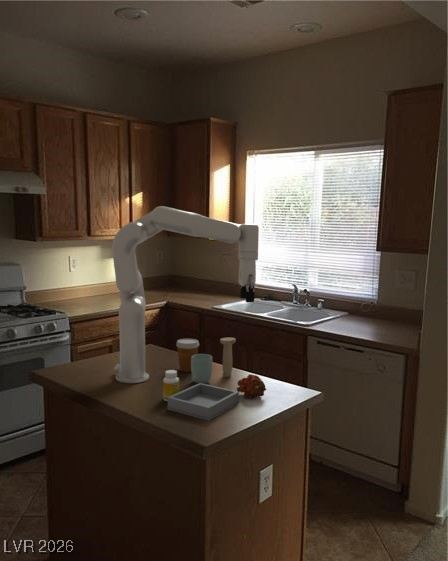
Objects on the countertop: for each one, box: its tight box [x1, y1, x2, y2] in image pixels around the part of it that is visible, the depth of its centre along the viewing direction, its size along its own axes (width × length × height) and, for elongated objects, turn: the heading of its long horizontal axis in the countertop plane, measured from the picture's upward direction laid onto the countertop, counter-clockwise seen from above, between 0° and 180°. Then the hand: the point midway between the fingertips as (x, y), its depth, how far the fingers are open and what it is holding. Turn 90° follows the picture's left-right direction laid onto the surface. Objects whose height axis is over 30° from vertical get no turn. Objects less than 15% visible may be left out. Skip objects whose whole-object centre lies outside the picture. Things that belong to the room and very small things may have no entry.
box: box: [167, 383, 240, 421], centre depth 164 cm, size 16×18×4 cm
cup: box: [191, 353, 213, 384], centre depth 189 cm, size 8×8×10 cm
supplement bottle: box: [162, 369, 180, 402], centre depth 170 cm, size 5×5×10 cm
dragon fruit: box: [236, 373, 267, 400], centre depth 174 cm, size 8×8×12 cm
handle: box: [219, 337, 237, 378], centre depth 196 cm, size 5×6×15 cm
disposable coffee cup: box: [176, 338, 200, 373], centre depth 204 cm, size 10×10×12 cm
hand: (247, 300), depth 193 cm, fingers open, 9 cm apart
